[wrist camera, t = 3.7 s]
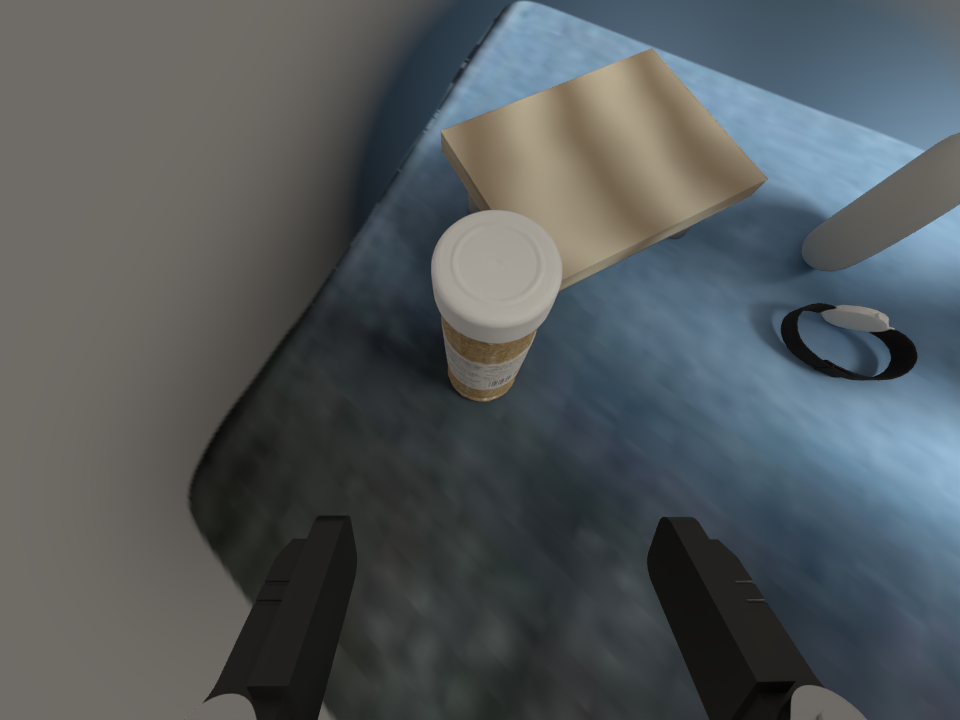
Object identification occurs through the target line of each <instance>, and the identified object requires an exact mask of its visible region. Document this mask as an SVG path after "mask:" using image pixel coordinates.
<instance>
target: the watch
mask: <svg viewBox="0 0 960 720" xmlns="http://www.w3.org/2000/svg"><path fill="white" fill-rule="evenodd" d="M802 311H812V312H817V313H820V314H822V316H823V318H824V320H825V321H827V322H829V323H831V324H833V325H835V326H839V327H842V328H846V329H849V330H856V331H863V332H869V333H871V334H873V335H875V336H876V337H878V338H879V339H881V340H882V341H883V342H884V343H885V344H886V346H887V347H888V349H889V351H890V354H891V361H890V363H889V366H888V367H887V369H886V370H885V371H884V372H882V373H881V374H879V375H877V376H874V377H865V376H862V375H859V374H856V373H853V372H850V371H848V370H845V369H843V368H841V367H839V366H837V365H835V364H833V363H832V362H830V361H828V360H822V359H820V358H819V357H818V356H817V355H815V354H814V353H813V352H812V351H811V350H810V349H809V348H808V347H807V346H806V345H805V344H804V343H803V341H802V339H801V338H800V335H799V332H798V326H797V322H798V317H799V315H800V314H801V312H802ZM781 335H782V338H783V341H784V343H785V345H786V346H787V348H788V349H789V350H790V351H791V352H792V353H793V354H794V355H795V356H797V357H798V358H799V359H801V360H802V361H804V362H805V363H807V364H808V365H810V366H812V367H813V368H814V369H815V370H819V371H821V372H823V373H825V374H827V375H829V376H832V377H843V378H846V379H850V380H888V379H894V378H897V377H900V376H902V375H904V374H906V373H908V372H909V371H910V370H911V369H912V368H913V367H914V365H915V364H916V361H917V351H916V348H915V345H914V344H913V342H912V341H911V340H910V339H909V338H908V337H907V336H906V335H904V334H902V333H901V332H899V331H897V330H895V328H892V327H889V318H888V317H887V316H886V315H885V314H884V313H881V312H879V311H877V310H874V309H871V308H866V307H861V306H853V305H838V306H832V305H828V304H822V303H817V304H811V305H808V306H805V307H802V308H799V309H797V310H794V311H792V312H790V313H789V314H788V315H787V316H786V317H785V318H784V319H783V321H782V324H781Z"/></svg>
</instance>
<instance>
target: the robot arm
mask: <svg viewBox="0 0 960 720" xmlns="http://www.w3.org/2000/svg"><path fill="white" fill-rule="evenodd" d="M647 565H648V572H649V576H650V579H651V582H652V584H653V586H654V589H655V591H656V594H657V596H658V598H659V601H660V603H661V606H662V608H663V610H664V613H665V615H666V617H667V620H668V622H669V625H670V627H671V629H672V632H673V634H674V636H675V639H676V641H677V644H678V646H679V648H680V651H681V653H682V655H683V658H684V660H685V663H686V665H687V667H688V670H689V672H690V674H691V677H692V679H693V682H694V684H695V686H696V689H697V691H698V694H699V696H700V698H701V701H702V703H703V705H704V708H705V710H706V713H707V715H708V717H709V720H867V719H866V718H865V717H864V716H863V715H862V714H861V713H860V712H859V711H858V710H857V709H856V708H855V707H854V706H853V705H851V704H850V703H849V702H847V701H846V700H845V699H843V698H842V697H840V696H839V695H837V694H836V693H834V692H832V691H830V690H828V689H825V688H824V686H823V685H822V684H821V683H820V682H819V680H818V679H817V678H816V676H815V675H814V673H813V672H812V670H811V669H810V667H809V666H808V664H807V663H806V661H805V660H804V658H803V657H802V655H801V654H800V652H799V651H798V649H797V647H796V646H795V644H794V643H793V641H792V640H791V638H790V637H789V635H788V634H787V632H786V631H785V629H784V628H783V626H782V625H781V623H780V621H779V620H778V618H777V617H776V615H775V614H774V612H773V611H772V609H771V608H770V606H769V605H768V603H765V601H764V597H763V596H762V594H761V592H760V591H759V589H758V588H757V586H756V585H755V584H753V583H752V579H751V577H750V576H749V574H748V573H747V571H746V570H745V568H744V567H743V565H742V563H741V562H740V560H739V559H738V558H737V557H736V556H735V555H734V554H733V553H732V552H731V551H730V550H729V549H728V548H726V547H725V546H724V545H723V544H722V543H721V542H720V541H719V540H709V538H708V536H707V535H706V533H705V532H704V530H703V528H702V527H701V525H700V524H699V522H698V521H697V520H696V519H695V518H693V517H662V518H661V519H660V521H659V523H658V526H657V529H656V532H655V535H654V538H653V541H652V544H651V546H650V549H649V552H648V557H647ZM356 568H357V552H356V546H355V541H354V535H353V529H352V523H351V518H350V516H318V517H317V518H316V520H315V521H314V523H313V526H312V528H311V531H310V533H309V536H308V538H307V539H293V540H292V541H291V542H290V543H289V544H288V545H287V546H286V547H285V548H284V549H283V551H282V552H281V553H280V554H279V555H278V556H277V557H276V558H275V560H274V563H273V565H272V567H271V569H270V571H269V573H268V575H267V577H266V580H265V584H264V585H263V586H262V588H261V590H260V592H259V594H258V597H257V599H256V603H255V605H253V607H252V609H251V611H250V614H249V616H248V618H247V620H246V622H245V624H244V626H243V628H242V631H241V633H240V635H239V637H238V639H237V641H236V643H235V645H234V648H233V650H232V652H231V654H230V656H229V658H228V661H227V663H226V665H225V667H224V669H223V671H222V673H221V675H220V677H219V680H218V681H217V683H216V685H215V687H214V689H213V690H212V691H211V693H210V694H209V696H208V697H207V698H206V700H205V701H204V702H203V703H202V704H201V705H200V706H199V707H197V708H196V709H195V710H194V711H193V712H191V713H190V714H189V715H188V716H187V717H186V718H185V719H184V720H318V716H319V712H320V709H321V705H322V701H323V697H324V694H325V690H326V686H327V682H328V678H329V675H330V671H331V667H332V663H333V659H334V656H335V652H336V648H337V644H338V641H339V637H340V633H341V629H342V625H343V622H344V618H345V614H346V610H347V607H348V603H349V599H350V595H351V591H352V588H353V584H354V580H355V575H356Z"/></svg>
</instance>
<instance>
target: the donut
mask: <svg viewBox="0 0 960 720" xmlns="http://www.w3.org/2000/svg"><path fill="white" fill-rule="evenodd" d="M959 204H960V133H957V134H954V135H951V136H949V137H948V138H946V139H944V140H942V141H940V142H939V143H937V144H936V145H934V146H933V147H931V148H930V149H928V150H927V151H925V152H924V153H922V154H921V155H920V156H918V157H917V158H915V159H914V160H912V161H911V162H909V163H908V164H906V165H905V166H904V167H902V168H901V169H899V170H898V171H896V172H895V173H893V174H892V175H891V176H889V177H888V178H886V179H885V180H883V181H882V182H881V183H879V184H878V185H876V186H875V187H873V188H872V189H870V190H869V191H868V192H866V193H865V194H863V195H862V196H860V197H859V198H857V199H856V200H855V201H853V202H852V203H850V204H849V205H847V206H846V207H845V208H843V209H842V210H840V211H839V212H837V213H836V214H835V215H833V216H832V217H830V218H829V219H827V220H826V221H825V222H823V223H822V224H820V225H819V226H817V227H816V228H815V229H814V230H812V231H811V232H810V233H809V234H808V235H807V237H806V238H805V240H804V242H803V245H802V249H801V250H802V257H803V258H804V260H805V262H806V263H807V264H808V265H810V266H811V267H812V268H815V269H818V270H821V271H836V270H841V269H845V268H848V267H850V266H852V265H855V264H857V263H859V262H861V261H863V260H865V259H867V258H869V257H871V256H873V255H875V254H877V253H879V252H881V251H882V250H884V249H886V248H888V247H890V246H891V245H893V244H895V243H897V242H899V241H900V240H902V239H904V238H905V237H907V236H909V235H911V234H912V233H914V232H916V231H917V230H919V229H921V228H922V227H924V226H926V225H927V224H929V223H931V222H932V221H934V220H936V219H937V218H939V217H940V216H942V215H944V214H945V213H947V212H948V211H950V210H951V209H953V208H955V207H956V206H958V205H959Z"/></svg>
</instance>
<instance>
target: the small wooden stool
mask: <svg viewBox="0 0 960 720" xmlns="http://www.w3.org/2000/svg"><path fill="white" fill-rule="evenodd" d="M441 144H442V151H443V153H444V155H445V156H446V158H447V159H448V161H449V163H450V164H451V166H452V167H453V169H454V170H455V172H456V174H457V175H458V177H459V178H460V180H461V181H462V183H463V185H464V186H465V188H466V189H467V191H468V211H469V213H470V214H473V213H477V212H481V211H486V210H504V211H510V212H514V213H517V214H520V215H523V216H525V217H527V218H529V219H531V220H533V221H534V222H536V223H537V224H539V225H540V226H541V227H542V228H543V229H544V230H545V231H546V232H547V233H548V234H549V235H550V237H551V238H552V239H553V241H554V243H555V245H556V246H557V248H558V251H559V253H560V257H561V261H562V281H561V285H560V289H559V291H560V290H562V289H564V288H566V287H568V286H570V285H573V284H575V283H577V282H579V281H581V280H583V279H585V278H587V277H589V276H591V275H593V274H595V273H597V272H599V271H601V270H603V269H605V268H607V267H609V266H611V265H613V264H615V263H617V262H619V261H621V260H623V259H625V258H627V257H629V256H631V255H633V254H635V253H637V252H639V251H641V250H643V249H645V248H647V247H649V246H651V245H653V244H655V243H657V242H659V241H661V240H663V239H665V238H667V237H669V238H672V239H677V238H680V237H682V236H683V235H684V234H685V233H686V232H687V231H688V229H689V228H690V227H691V226H692V225H693V224H695V223H697V222H699V221H701V220H703V219H705V218H707V217H709V216H711V215H714V214H716V213H718V212H720V211H722V210H724V209H726V208H728V207H730V206H732V205H734V204H736V203H738V202H740V201H742V200H744V199H746V198H748V197H750V196H751V195H752V194H753V193H754V192H755V191H756V190H757V189H758V188H759V187H760V186H761V185H762V184H763V183H764V182H765V181H766V180H767V178H766V176H765V175H764V174H763V173H762V172H761V171H760V170H759V169H758V167H757V166H756V165H755V164H754V163H753V162H752V161H751V159H750V158H749V157H748V156H747V155H746V154H745V153H744V152H743V150H742V149H741V148H740V147H739V146H738V145H737V144H736V143H735V141H734V140H733V139H732V138H731V137H730V136H729V135H728V133H727V132H726V131H725V130H724V129H723V128H722V127H721V126H720V124H719V123H718V122H717V121H716V120H715V119H714V118H713V117H712V115H711V114H710V113H709V112H708V111H707V110H706V109H705V107H704V106H703V105H702V104H701V103H700V102H699V101H698V100H697V98H696V97H695V96H694V95H693V94H692V93H691V92H690V91H689V89H688V88H687V87H686V86H685V85H684V84H683V83H682V81H681V80H680V79H679V78H678V77H677V76H676V75H675V74H674V72H673V71H672V70H671V69H670V68H669V67H668V66H667V64H666V63H665V62H664V61H663V60H662V59H661V58H660V57H659V55H658V54H657V53H656V52H655V51H654V50H653V49H649V50H647V51H644V52H642V53H639V54H636V55H634V56H631V57H629V58H626V59H624V60H621V61H619V62H616V63H613V64H611V65H608V66H606V67H603V68H601V69H598V70H596V71H593V72H590V73H588V74H585V75H583V76H580V77H578V78H575V79H573V80H570V81H567V82H565V83H562V84H560V85H557V86H555V87H552V88H549V89H547V90H544V91H542V92H539V93H537V94H534V95H532V96H529V97H526V98H524V99H521V100H519V101H516V102H514V103H511V104H509V105H506V106H503V107H501V108H498V109H496V110H493V111H491V112H488V113H485V114H483V115H480V116H478V117H475V118H473V119H470V120H468V121H465V122H462V123H460V124H457V125H455V126H452V127H450V128H447V129H445V130H442V131H441Z"/></svg>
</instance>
